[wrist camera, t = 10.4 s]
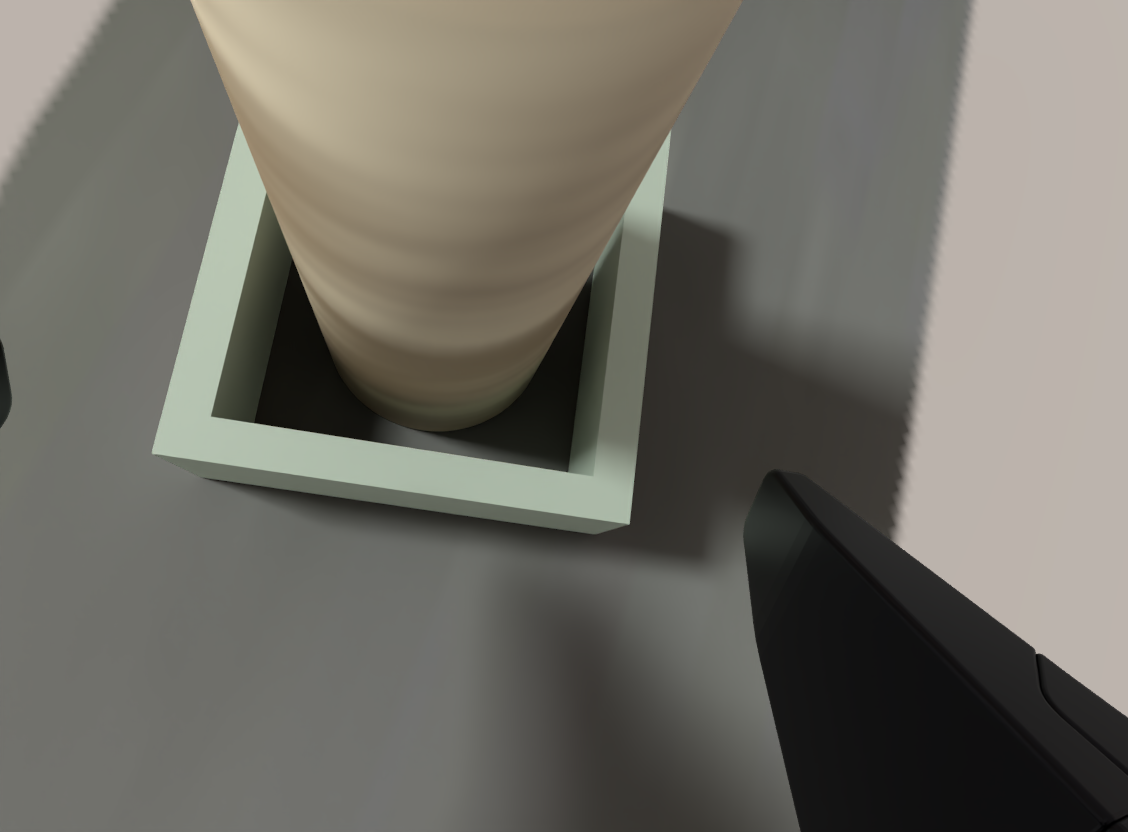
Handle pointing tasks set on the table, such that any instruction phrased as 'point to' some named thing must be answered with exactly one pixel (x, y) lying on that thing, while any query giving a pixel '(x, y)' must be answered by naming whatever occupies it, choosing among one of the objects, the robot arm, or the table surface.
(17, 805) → the table surface
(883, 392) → the table surface
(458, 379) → the maple dowel
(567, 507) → the sage collar
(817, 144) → the table surface
